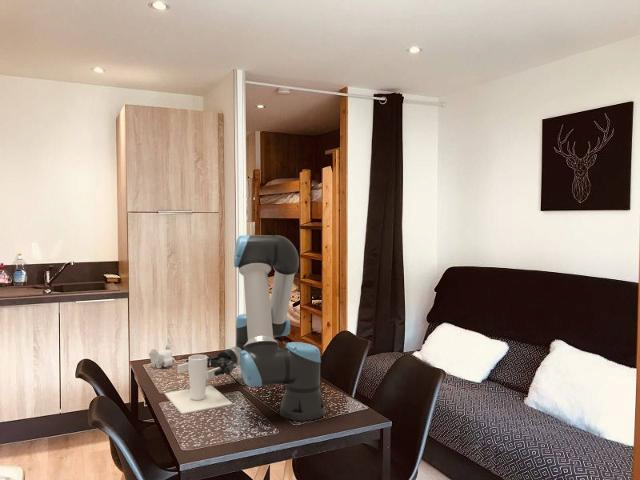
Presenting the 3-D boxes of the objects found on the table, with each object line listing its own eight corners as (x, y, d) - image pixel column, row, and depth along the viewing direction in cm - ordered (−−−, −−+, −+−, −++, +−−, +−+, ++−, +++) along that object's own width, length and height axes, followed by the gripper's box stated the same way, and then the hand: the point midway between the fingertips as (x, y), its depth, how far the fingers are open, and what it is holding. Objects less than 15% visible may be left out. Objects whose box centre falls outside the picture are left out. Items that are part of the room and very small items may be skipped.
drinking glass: (197, 393, 184) (197, 353, 184) (211, 397, 181) (211, 356, 180) (184, 399, 178) (184, 357, 178) (197, 402, 175) (198, 360, 174)
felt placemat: (232, 404, 175) (232, 403, 175) (181, 414, 165) (181, 413, 165) (211, 386, 194) (211, 385, 194) (164, 394, 184) (164, 393, 184)
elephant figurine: (163, 372, 211) (163, 351, 211) (144, 367, 217) (144, 347, 217) (180, 366, 219) (180, 346, 219) (161, 362, 225) (161, 342, 225)
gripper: (256, 373, 190) (219, 389, 171) (205, 363, 201) (166, 377, 183) (256, 353, 189) (220, 367, 171) (205, 344, 201) (166, 357, 182)
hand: (192, 372), depth 177 cm, fingers open, 13 cm apart
